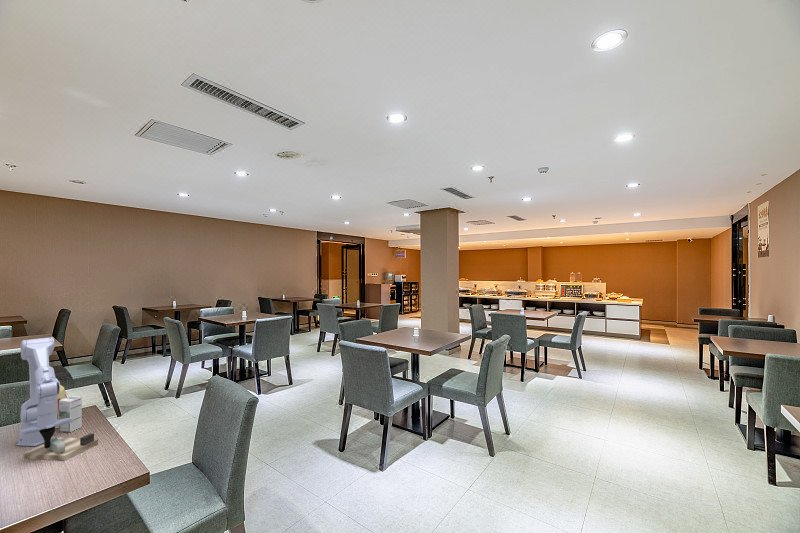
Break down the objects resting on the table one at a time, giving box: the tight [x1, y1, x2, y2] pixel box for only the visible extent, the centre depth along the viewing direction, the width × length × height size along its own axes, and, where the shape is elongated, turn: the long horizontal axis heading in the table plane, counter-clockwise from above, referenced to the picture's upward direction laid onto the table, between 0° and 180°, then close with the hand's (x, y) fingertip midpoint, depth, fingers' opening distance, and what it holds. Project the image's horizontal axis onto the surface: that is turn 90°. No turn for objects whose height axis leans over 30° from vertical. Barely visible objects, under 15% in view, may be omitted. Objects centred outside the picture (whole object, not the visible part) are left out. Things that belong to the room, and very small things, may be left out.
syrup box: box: [58, 396, 83, 433], centre depth 165 cm, size 6×6×14 cm
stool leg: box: [49, 436, 65, 453], centre depth 142 cm, size 13×2×3 cm, turn 62°
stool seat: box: [23, 433, 99, 462], centre depth 145 cm, size 18×14×5 cm
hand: (47, 447), depth 142 cm, fingers closed
